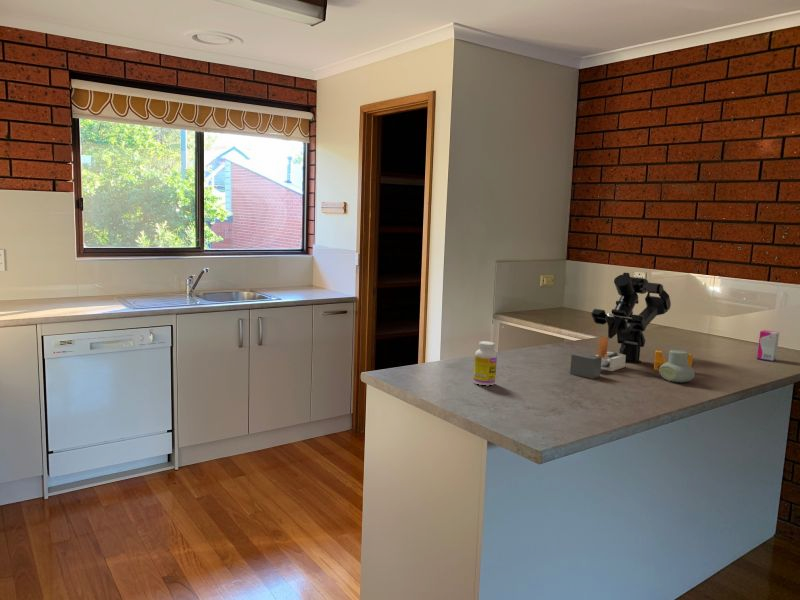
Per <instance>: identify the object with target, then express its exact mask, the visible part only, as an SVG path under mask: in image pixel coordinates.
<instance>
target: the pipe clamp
mask: <svg viewBox="0 0 800 600" xmlns="http://www.w3.org/2000/svg"><path fill="white" fill-rule="evenodd" d="M653 362H654V363H653V369H654V371H659V368H660V366H661V365H662V364H664V363H666V362H668V360H667V361H666V359H665V358H664V357H663V352H662V350H657V349H656V350H655V352H654V361H653ZM692 364H693V354H692V353H689V355H688V365H689V366H691V367H692Z"/></svg>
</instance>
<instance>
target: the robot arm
mask: <svg viewBox="0 0 800 600" xmlns="http://www.w3.org/2000/svg"><path fill="white" fill-rule="evenodd" d="M613 284H614V286H615V289H616V291H617V294H618V295H619V296H620V297H619V299H618V300H616V301H615V307H614V308H613V309H611V311H610V312H609V313H606V311H605V310H604V309H600V308H594V309H593V310H592V312H591V317H592V320H593V322H594V323H595V324H597V325H606V324H607V329H608V330H607V331H608V332H607V334H608V335H607V338H608V339H613V338H614V337H615V336H617V344H620V347H619V352H618V353H619V354H624V355H626V359H625V363H642V360H640V355H641V348H644V347H645V344H646V338H645V335H644V333H643V332H645V331H646V329H647V326H648V325H650V323H651V322H652V321H653V320H654V319H655V318H656V317H657V316H661V315H665V314H666V313H667V312H668V311H669V310H670V309H671V305H672V304H671V302H672V301H671V299H670V298H671V297H670V295H669V293H668V292H666V290H665V289H664V286H663V284H661V283H656V282H649V280H648V279H646V278H644V277H635V276H631V275H630V272H623V273H622V274H619V275H618V276H616V277H615V278H614V279H613ZM646 293H647V295H646V297H644V300H645V305H646V307H645V308H644V309H643V310H642V311H641V312H640V313H639V314H635V313H634V311H633V310H634V308H635V305H636V304H639V295H640V294H642V295H643V294H646ZM638 294H639V295H638ZM651 294H657V295H658V296H659V297H658V296H654V295H652V296H651Z"/></svg>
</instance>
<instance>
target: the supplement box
mask: <svg viewBox="0 0 800 600" xmlns="http://www.w3.org/2000/svg"><path fill="white" fill-rule="evenodd" d="M779 337H780V331H772V330H760V332H759V338H758V339H759V340H758V346H757V347H758V348H757V356H756V359H757V360H760V361H765V362H772V363H774V362H775V361H777V354H778V346H779V339H780V338H779Z"/></svg>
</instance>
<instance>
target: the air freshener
mask: <svg viewBox="0 0 800 600" xmlns="http://www.w3.org/2000/svg"><path fill="white" fill-rule="evenodd" d="M689 354H690V353H689V352H688V351H686V350H683V349H681V350H680V349H670V350H669V351H668V360H667V362H666V363H664V364H662V365H661V366H660V365H659V366H660V368H659V370H658V373H659V374H660V376H661V377H662V378H663V379H665V380H666V381H667V380H668V382H670V381H672V382H671V383H677V382H680V383H679V384H681V383H687V382H690V381H692V380H693V379H694V378H695V377H696V376H695V375H696V372H695V370H694V368H693V367H692V366H689V365H688V355H689Z"/></svg>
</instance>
